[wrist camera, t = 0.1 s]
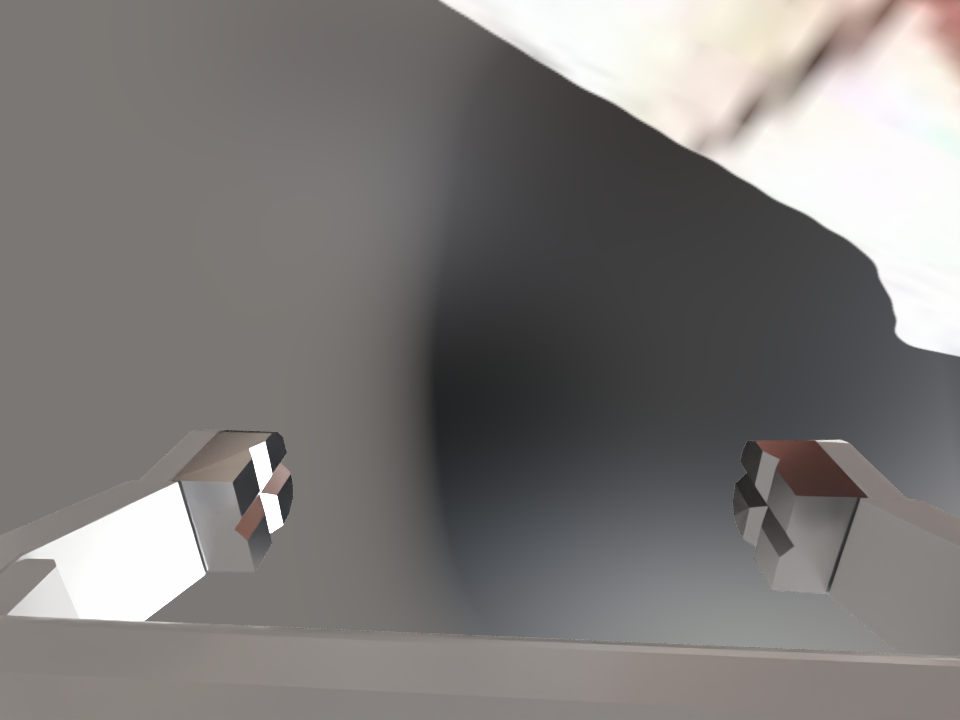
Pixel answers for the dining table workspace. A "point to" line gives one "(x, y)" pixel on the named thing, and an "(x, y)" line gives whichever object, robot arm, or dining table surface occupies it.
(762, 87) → the dining table surface
